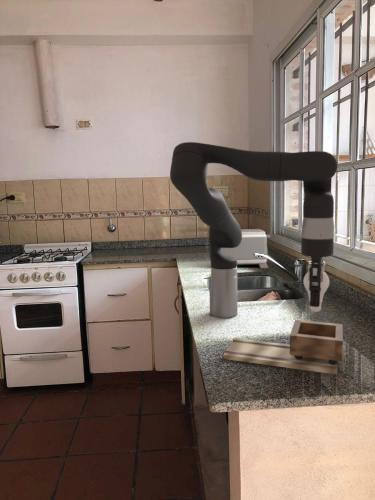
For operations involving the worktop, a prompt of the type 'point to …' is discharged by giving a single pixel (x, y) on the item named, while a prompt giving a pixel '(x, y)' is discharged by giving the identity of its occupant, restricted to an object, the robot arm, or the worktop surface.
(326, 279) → the lightbulb
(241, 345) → the track
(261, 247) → the toaster
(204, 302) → the worktop surface
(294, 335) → the open wooden crate
